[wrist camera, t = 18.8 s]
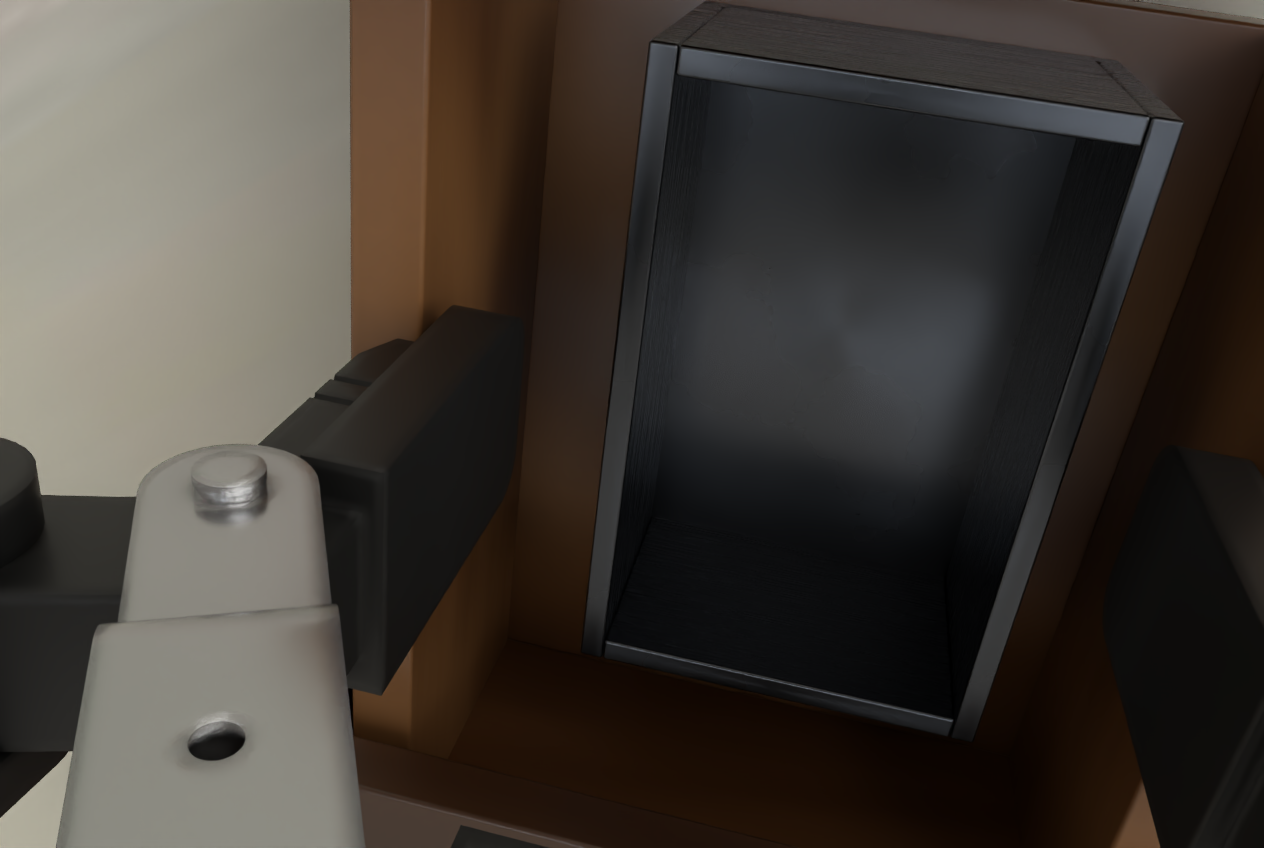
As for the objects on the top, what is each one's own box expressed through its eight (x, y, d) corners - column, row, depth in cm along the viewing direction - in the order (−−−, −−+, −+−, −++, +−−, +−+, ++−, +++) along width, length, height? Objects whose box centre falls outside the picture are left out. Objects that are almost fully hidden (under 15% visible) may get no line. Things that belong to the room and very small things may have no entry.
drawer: (511, -804, 12) (216, -1309, 7) (1702, -738, 10) (2489, -1324, 5) (446, 617, 21) (297, 864, 16) (1079, 764, 19) (1145, 1091, 14)
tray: (1119, 60, 13) (1187, 120, 10) (959, 582, 17) (973, 744, 14) (703, 0, 14) (648, 40, 11) (635, 514, 17) (579, 654, 14)
